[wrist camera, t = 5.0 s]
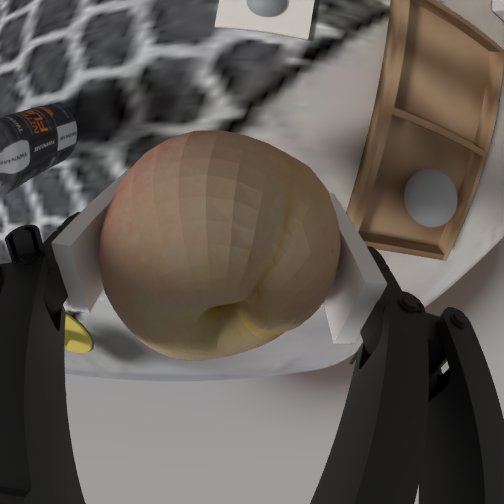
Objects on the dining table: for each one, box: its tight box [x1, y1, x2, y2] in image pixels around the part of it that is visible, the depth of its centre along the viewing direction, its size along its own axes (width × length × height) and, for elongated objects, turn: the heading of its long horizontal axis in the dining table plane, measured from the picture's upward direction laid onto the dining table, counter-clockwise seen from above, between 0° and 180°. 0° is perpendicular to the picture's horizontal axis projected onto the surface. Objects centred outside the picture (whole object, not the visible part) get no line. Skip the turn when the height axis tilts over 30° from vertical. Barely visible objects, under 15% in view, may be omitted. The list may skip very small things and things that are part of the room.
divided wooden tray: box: [346, 0, 504, 261], centre depth 18 cm, size 24×12×2 cm, turn 172°
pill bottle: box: [0, 104, 77, 195], centre depth 15 cm, size 6×6×11 cm
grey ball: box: [404, 169, 457, 227], centre depth 20 cm, size 5×5×5 cm
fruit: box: [99, 131, 341, 360], centre depth 10 cm, size 8×8×8 cm
